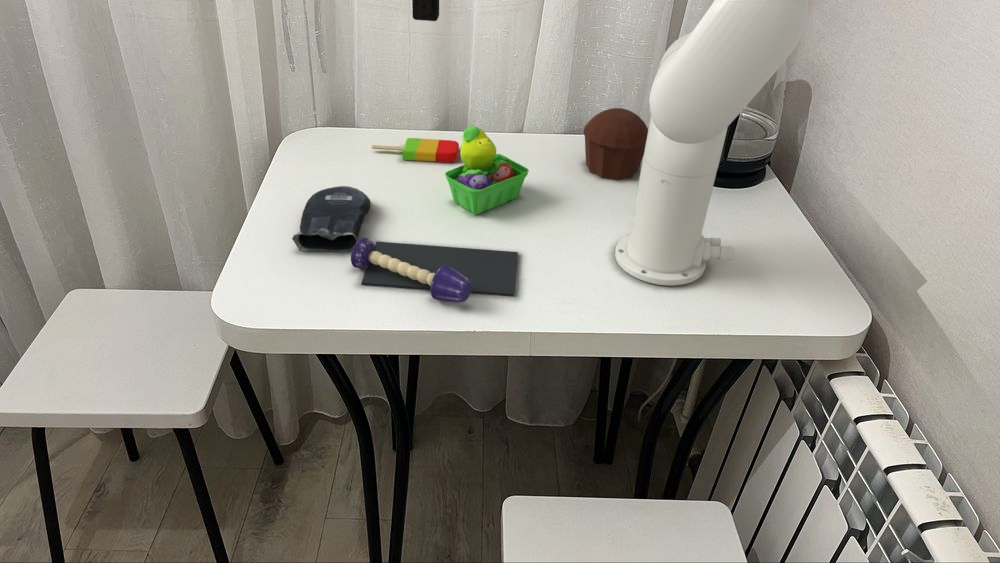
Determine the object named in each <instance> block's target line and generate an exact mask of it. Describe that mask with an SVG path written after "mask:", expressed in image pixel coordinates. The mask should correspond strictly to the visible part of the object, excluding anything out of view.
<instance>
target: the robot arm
mask: <svg viewBox="0 0 1000 563" xmlns="http://www.w3.org/2000/svg"><path fill="white" fill-rule="evenodd" d="M411 1H412V3H411V4H412V5H411V6H412V7H411V8H412V11H411V12H412V19H413V20H415V21H427V22H437V21H438V19H439V16H440V0H411ZM809 1H810V0H713V2H712V3H711V5H710V6H709V8H708V9H707V10H706V12H705V14H704V15H703V16H702V18H701V19H700V21H699V22H698V23H697V24H696V26H695V27H694V29H693V30H692V31H691V32H688V33H686V34H684V35H682V36H680V37H679V38H677V39H676V40H675V41H674V42H672V43H671V45H670V46H668V48H667V50H666V51H665V52H664V54H663V56H662V57H661V60H660V62H659V65H658V67H657V71H656V72H655V77H654V79H653V82H652V86H651V89H650V93H649V100H648V101H649V103H648V104H649V105H648V106H649V112H650V119H649V125H648V135H647V140H646V146H645V151H644V156H643V158H642V161H641V167H640V173H639V178H638V186H637V190H636V195H635V202H634V207H633V212H632V218H631V225H630V230H629V234H627V235H624V236H623V237H622V238H620V239H619V241H618V242H617V243H616V247H615V250H614V258H615V260H616V263H617V264H618V266H619V267H620V268H621V269H622V270H623V271H624V272H626V273H627V274H628V275H630V276H632V277H633V278H635V279H638V280H640V281H642V282H645V283H649V284H652V285H657V286H667V287H669V286H670V287H671V286H672V287H673V286H682V285H686V284H691V283H692V282H695V281H696V280H698V279H699V278H701V277H702V276H703V275H704V272H705V270H706V266H707V262H709V260H710V259H715V260H721V261H732V260H733V259H734V258H733V257H734V253H735V252H734V247H733V246H731V245H730V246H729V245H722V240H721V237H705V236H704V235H703V230H704V226H705V221H706V218H707V214H708V210H709V204H710V201H711V197H712V193H713V189H714V185H715V180H716V177H717V172H718V169H719V165H720V161H721V158H722V153H723V150H724V149H723V148H724V145H725V140H726V136H727V133H728V128H729V126H730V125H731V124H732V123H733V122H734V121H735V119H736V118H737V117H739V115H740V114H741V113H742V112H743V110H744V109H746V107H747V106H748V105H749V104H750V102H751V101H752V100H753V99H754V98H755V97H756V96H757V95H758V93H759V92H760V91H761V90H762V88H764V86H765V85H766V84H767V83H768V81H769V80H770V79H771V78H772V77H773V76H774V74H775V73H776V72H777V71H778V70H779V69H780V67H781V66H782V65H783V64H784V63H785V62H786V60H787V59H788V58H789V56H790V55H791V54H792V52H794V50H795V48H796V46H797V44H798V43H799V41H800V40H801V38H802V37H803V34H804V32H805V29H806V26H807V23H808V19H809V8H810V6H809Z"/></svg>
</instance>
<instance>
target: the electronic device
mask: <svg viewBox="0 0 1000 563" xmlns="http://www.w3.org/2000/svg"><path fill="white" fill-rule="evenodd" d="M371 203H372V201H371V199H370V198H369V196H368V195H367V194H366V193H365V192H363V191H362V190H360V189H358V188H356V187H353V186H347V185H340V186H339V185H338V186H331V187H328V188H323V189H320V190H319V191H316V192H315V193H313V194H311V196H310V198H308V199H307V201H306V203H305V206H304V209H303V210H302V215H301V218H300V224H299V231H298V233H295V234H293V235H292V238H291V240H292V241H293V243H294V245H295V246H296V247H297V249H298V251H299V252H309V251H318V252H320V251H322V252H334V253H335V252H336V253H337V252H339V253H345V252H348V251H350V250H352V249H353V247H354V245H355V244H356V243H357V241H358V237H359V234H360V231H361V228H362V225H363V222H364V219H365V217H366V215H367V214H369V211H370V209H371Z"/></svg>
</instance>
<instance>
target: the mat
mask: <svg viewBox="0 0 1000 563" xmlns="http://www.w3.org/2000/svg"><path fill="white" fill-rule="evenodd" d="M374 245H375V247H376V251H377V252H380V253H381V254H382V255H388V256H390V257H391V258H396V259H399V260H400V261H401V262H406V263H408V264H410V265H411V266H417V267H419V268H420V269H421V270H422V269H424V270H428V271H429V272H430V273H436V272H437V270H438V269H439V268H440V267H441V266H443V265H449V266H451V267H452V268H454V269H455V270H457V271H458V272H459V273H461V274H462V275H463V276H465V277H466V278H468V279H469V280H470V281H471V283H472V290H471V294H478V295H491V296H504V297H515V296H516V282H517V272H518V271H517V269H518V257H519V251H511V250H510V251H508V250H498V249H497V250H495V249H482V248H471V247H470V248H469V247H456V246H443V245H442V246H441V245H431V244H430V245H429V244H426V245H425V244H416V243H415V244H414V243H401V242H390V241H376V242H375V243H374ZM360 284H361V285H362V286H370V287H371V286H374V287H387V288H399V289H413V290H425V291H426V290H427V291H430V288H431V286H430V285H428V283H427V284H424V283H421V282H419V281H418V280H413V279H411V278H409V277H408V276H402V275H400V274H399V273H398V272H392V271H390V270H389V269H386V268H383V267H381V266H380V265H375V264H373V263H371V264H370V265H369V266H368V267H366V268H365V272H364V274H363V277H362V279H361V283H360Z"/></svg>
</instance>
